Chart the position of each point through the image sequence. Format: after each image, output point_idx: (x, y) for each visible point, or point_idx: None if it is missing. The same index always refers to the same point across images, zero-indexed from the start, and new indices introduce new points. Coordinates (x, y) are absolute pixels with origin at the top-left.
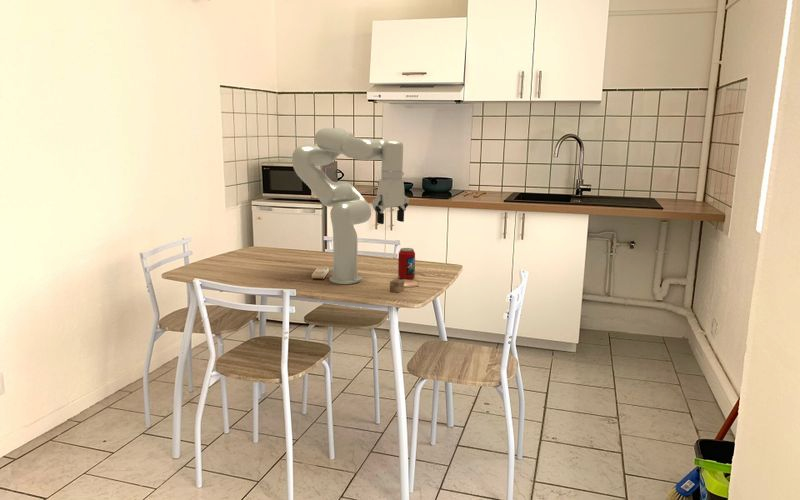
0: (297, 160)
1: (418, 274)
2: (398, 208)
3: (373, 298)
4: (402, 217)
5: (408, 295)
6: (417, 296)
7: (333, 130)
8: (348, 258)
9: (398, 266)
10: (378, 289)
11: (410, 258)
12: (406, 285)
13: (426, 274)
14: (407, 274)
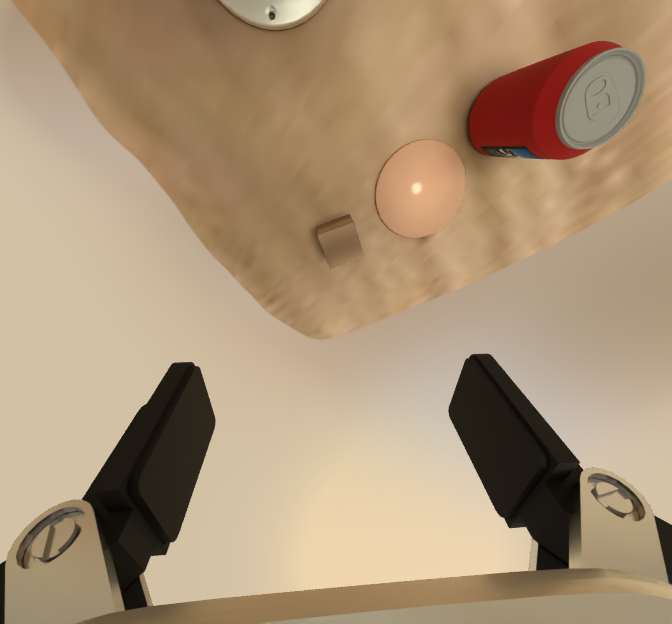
0: None
1: None
2: (577, 505)
3: (229, 253)
4: (467, 448)
5: (332, 290)
6: (343, 310)
7: None
8: None
9: (504, 86)
10: (302, 181)
11: (536, 156)
12: (395, 223)
13: None
14: (483, 149)
